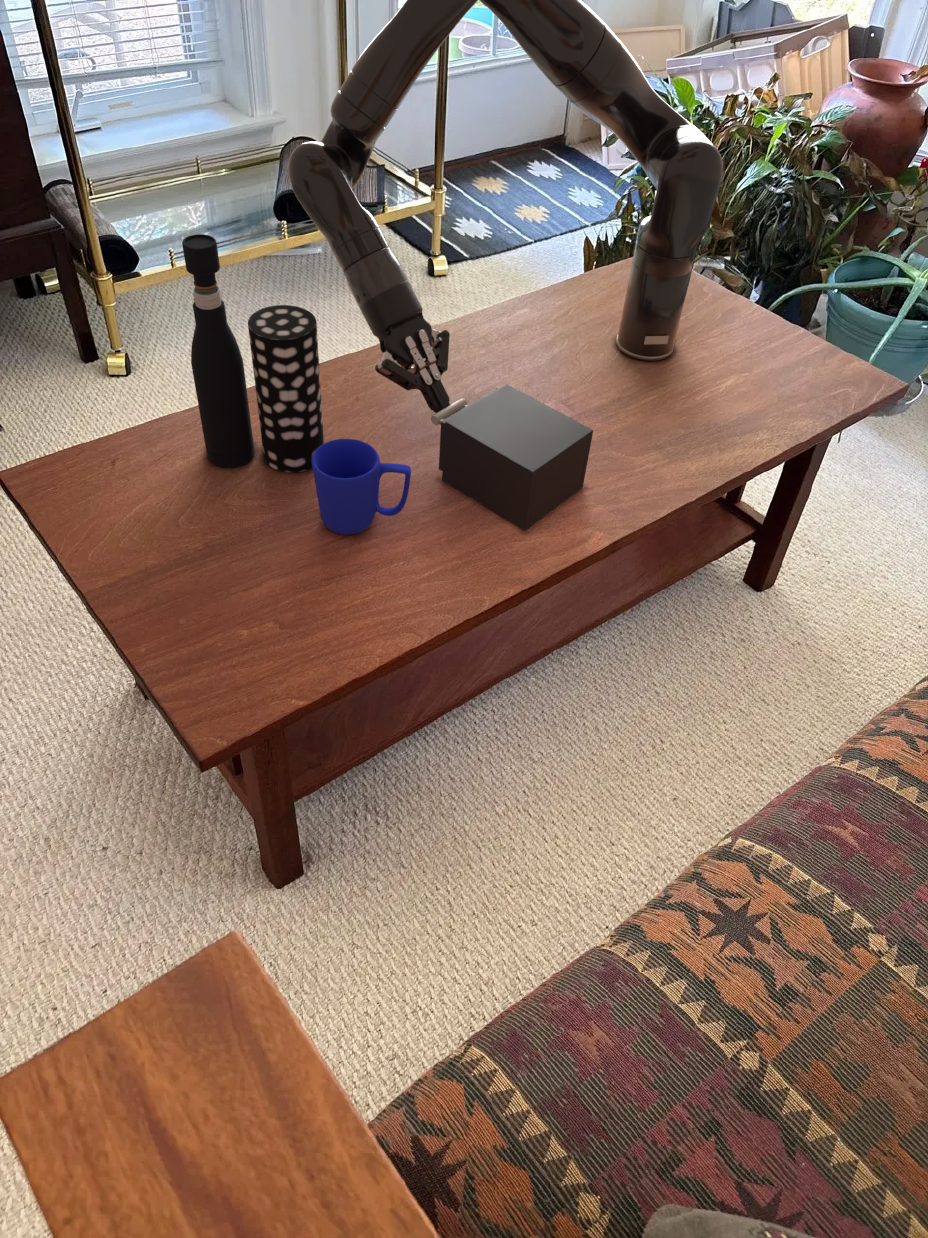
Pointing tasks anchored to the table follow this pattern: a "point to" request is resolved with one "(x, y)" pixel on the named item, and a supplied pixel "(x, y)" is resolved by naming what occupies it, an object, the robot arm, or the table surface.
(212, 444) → the black bottle
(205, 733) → the table surface
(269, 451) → the spotted tube
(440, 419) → the drawer
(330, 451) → the mug
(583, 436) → the cabinet
